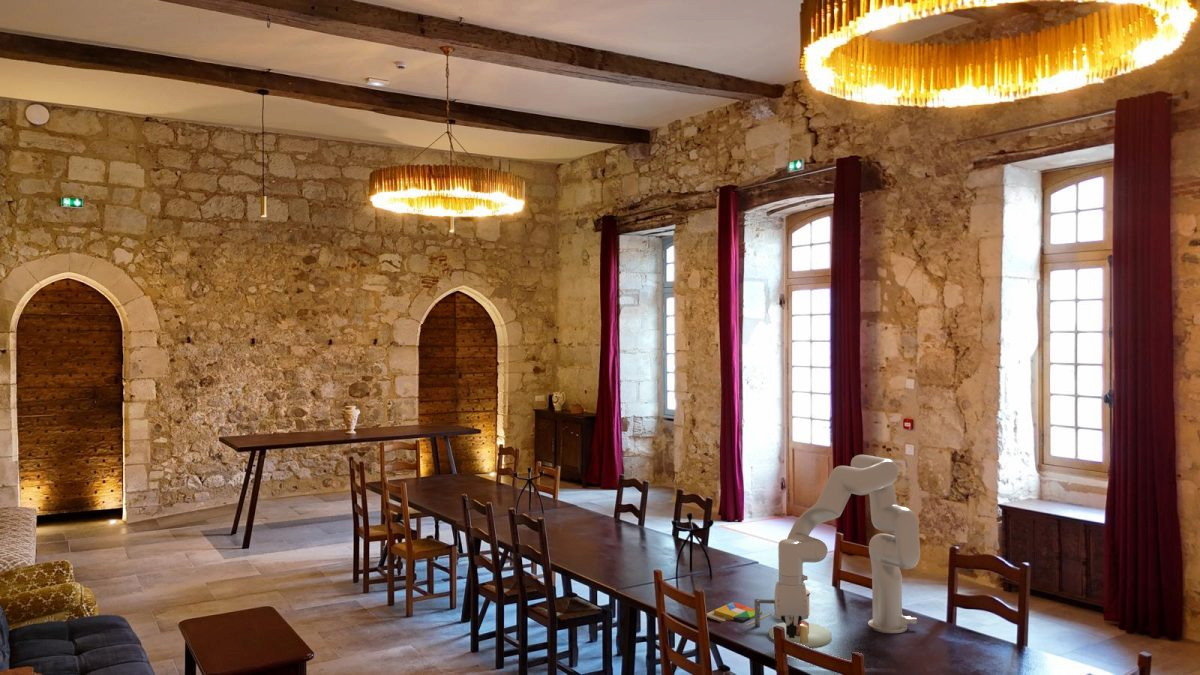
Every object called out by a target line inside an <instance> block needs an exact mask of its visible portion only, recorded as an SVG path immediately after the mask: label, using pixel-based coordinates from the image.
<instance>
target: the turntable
mask: <svg viewBox="0 0 1200 675" xmlns="http://www.w3.org/2000/svg"><path fill="white" fill-rule="evenodd" d="M808 623H809V634H808V626H807V625H801V626H800V636H795V638H789V636H788V635H787V634H786V639H788V640H790V641H792V642H796V643H799V644H802V645H805V646H808V647H809V648H819V647H823V646H826V645H828V644H830V643H831V642H832V638H833V635H832V632H831V630H829V629H828V628H826V627H825V626H823V625H819V624H815V623H812V622H811V623H810V622H808ZM775 625H778V626H782V627H784V628H785V631H786V624H785V623H784V622H779V623H777V624H774V625H772V626H770V627H769V629H768V636H769V638H770V639H771V640H772V641H774V640H773V631H772V629H773V626H775Z"/></svg>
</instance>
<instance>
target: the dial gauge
mask: <svg viewBox="0 0 1200 675" xmlns="http://www.w3.org/2000/svg"><path fill="white" fill-rule="evenodd" d="M753 601H754V609H755V618H754V620H755V623H754V627H755V628H761V620H760V617H761V615H760V611H761V608H760V607H761V604H773V605H774V599H759V598H755V599H754V600H753Z"/></svg>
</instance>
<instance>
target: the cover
mask: <svg viewBox="0 0 1200 675" xmlns="http://www.w3.org/2000/svg"><path fill="white" fill-rule="evenodd" d="M789 621H790V623H792V621H793V619H789ZM809 623H810V622H808V621H806V620H801V621H800V622H799V623H798V624H797V626H796V635H795V636H800V626H801V625H807V626H808V634H809Z"/></svg>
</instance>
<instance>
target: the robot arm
mask: <svg viewBox="0 0 1200 675" xmlns="http://www.w3.org/2000/svg"><path fill="white" fill-rule="evenodd" d="M898 475H899V467H898V465H897V464H896V462H895V461H893V460H892V459H890V458H885V457H880V456H879V457H878V456H875V455H874V456H873V455H870V454H858V455H855V456H854V457H852V459H851V461H850V465H849V466H848V465H838V466H836V467H835V468H834V469H832V471H831V473H830V475H829V477H828V479H827V481H826V483H825V485H824V487H823V489H822V491H821V493H820V495H819V497H818V499H817V501H816V502H815V503H814V505H811V507H809V508H808V509H807V510H805V511H804V512H803V513H802V514H801V515H800V516H799V517H798V518H797V519H796V520H795V521H794V523H793V524H792V527H791V529H790V531H789V533H788V536H787V538H785V539H781V540H779V542H778V548H777V549H778V581H776V582H775V588H774V599H773V600H774V604H773V606H774V613H773V617H774V618H775V619H778V620H781V621H782V623H785V624H786V634H787V635H788V636H789V638H795V635H796V626H797V624H798V623H799V622H800V621H801V620H803V621H805V620H808V619H809V616H808V603H807V593H806V589H807V588H806V583H805V581H808V575H806V574H804V566H803V564H804V563H820V562H823V561H824V560H825V559H826V557H827V555H828V546H827V545H826V543H825V542H824V541H823V540H821V539H819V538H816V537H812V536H810V534H811V533H812V532H813V530H814V529H815V528H816V527H817V526H819V525H820V524H821V525H822V524H823V523H826V522H828V521H833V520H836V519H838V518H840V517H841V515H842V513H843V511H844V510H845V508H846V505H847V503H848V501H849V499H850V497H851V496H852V495H851V494H853V495H857V496H865V495H869V506H870V517H871V523H872V525H873V527H874V528H875V529H876V530H879V531H880V532H881V531H882V532H883V533H877V534H874V535H873V536H872V537H871V539H870V540H869V543H868V553H869V558H870V564H871V572H872V574H871V576H872V581H871V583H872V584H871V586H872V589H871V590H872V594H871V596H872V599H871V600H872V605H871V606H872V619H870V620H868V621H867V624H868V626H869V627H870V628H871V630H872V631H876V632H879V633H882V634H883V633H884V634H900V633H904V632H906V631H907V630H908V624H911V625H912V624H913V625H915V624H916V625H917V623H918V619H917V617H911V615H907V616H906V615H904V614H903V592H902V590H903V588H902V587H903V585H902V584H903V581H902V580H903V577H902V572H901V569H904V570H911V569H912V570H913V568H915V567H916V566H917V565H918V563H919V561H920V557H921V543H920V530H919V521H918V518H917V516H916V513H915V512H914V511H913V510H911V508H908V507H906V506H900V505H899V504H898V502H897V495H896V494H897V493H896V490H895V489H896V488H895V485H894V483H895V481H896V480H897V478H898ZM884 532H885V533H884ZM892 534H893V535H892ZM789 616H793V617H792V620H793V621H792V623H790V617H789Z"/></svg>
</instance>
